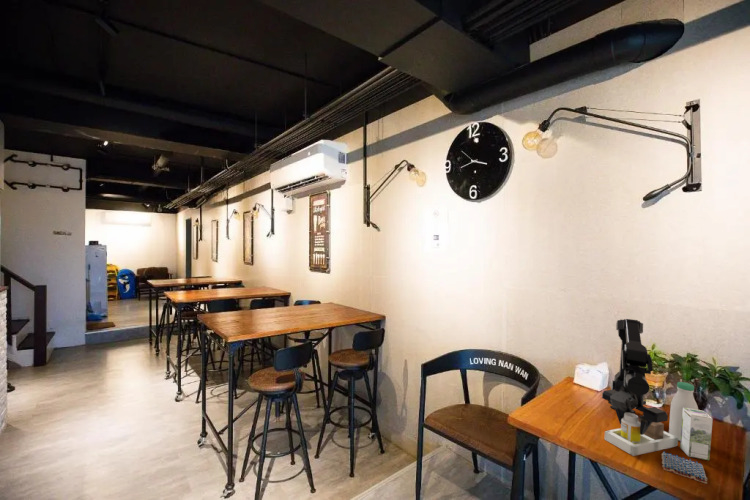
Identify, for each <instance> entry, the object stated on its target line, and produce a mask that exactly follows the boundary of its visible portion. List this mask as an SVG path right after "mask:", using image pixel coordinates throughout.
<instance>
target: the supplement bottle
mask: <svg viewBox="0 0 750 500" xmlns="http://www.w3.org/2000/svg"><path fill="white" fill-rule="evenodd" d="M640 424H641V423H640V422H639V415H637V414H636V413H624V418H622V419H621V424H620V428H621V437H622V438H624V439H626V440H628V441H630V442H631V443H633V444H639V443H640V440H641V434H640Z"/></svg>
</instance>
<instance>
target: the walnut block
mask: <svg viewBox="0 0 750 500" xmlns="http://www.w3.org/2000/svg"><path fill="white" fill-rule="evenodd" d="M638 421H639V422H640V423H641V420H640V418H638ZM664 427H665V424H664V423H662V422H658V423H656V422H652V424H651V425H650V426H649V427H648V429H647V430H646V432H645V433H644V435H646V436H648V437H650V438H652V439H654V440H658V439H663V431H665V430H664Z"/></svg>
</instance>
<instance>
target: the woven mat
mask: <svg viewBox="0 0 750 500" xmlns="http://www.w3.org/2000/svg"><path fill="white" fill-rule="evenodd" d="M660 455H661V459H662V461H661V464H662V465H661V467H662V468H663V470H665V471H666V472H670V473H673V474H676V475H679V476H683V477H685V478H688V479H692V480H694V481H697V482H700V483H703V484H708V477H707V476H706V475H707V474H706V472H705V469H704V466H703V464H702V463H701V462H700V463H698V461H697V460H696V461H694V460H692V459H691V458H689V460H688V459H687V458H685V457H684V456H682V457H681V456H679V455H677V454H672V453H671V452H670V453H668V452H666V451H665V450H663V452H662V453H661V454H660ZM666 457H667V458H666ZM698 477H699V478H698Z"/></svg>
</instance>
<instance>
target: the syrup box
mask: <svg viewBox="0 0 750 500" xmlns="http://www.w3.org/2000/svg"><path fill="white" fill-rule="evenodd" d="M712 431H713V417H712V416H710V415H709V413H707V412H706V411H704V410H700V409H698V410H696V409H689V408H683V412H682V426H681V440H680V441H679V448H680V449H681V450H682V451H683V452H684V454H686V456H687V457H689V458H693V459H694V458H695V459H698V460H703V461H710V459H711V457H710V456H711V447H712V445H711V444H712V433H713V432H712Z"/></svg>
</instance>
